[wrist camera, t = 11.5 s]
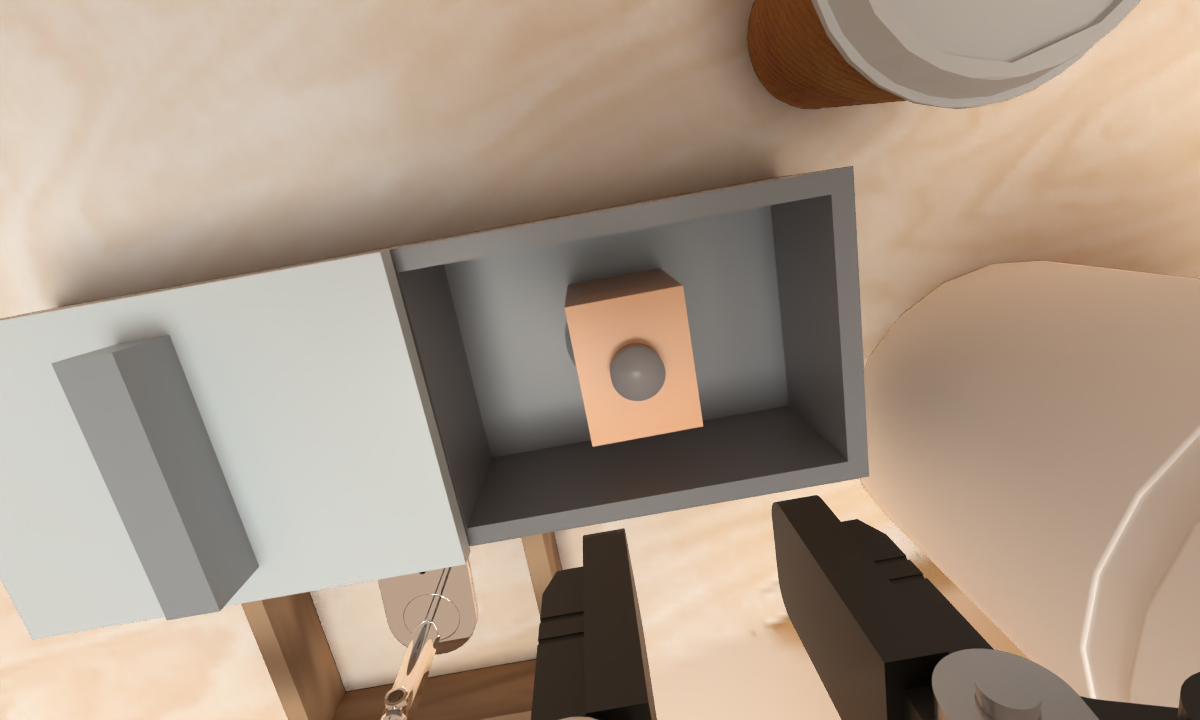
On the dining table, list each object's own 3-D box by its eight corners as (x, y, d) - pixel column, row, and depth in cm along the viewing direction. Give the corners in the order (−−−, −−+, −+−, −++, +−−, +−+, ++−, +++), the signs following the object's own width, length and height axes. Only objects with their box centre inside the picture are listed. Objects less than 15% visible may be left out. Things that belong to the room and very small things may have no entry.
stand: (461, 521, 31) (483, 643, 33) (370, 531, 31) (398, 652, 33) (424, 621, 23) (456, 770, 25) (304, 634, 23) (346, 782, 25)
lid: (-94, 337, 19) (-227, 363, 16) (389, 250, 19) (351, 258, 16) (53, 623, 22) (-33, 692, 19) (470, 550, 22) (452, 607, 19)
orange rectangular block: (567, 285, 26) (563, 311, 20) (660, 268, 26) (686, 288, 20) (589, 397, 28) (593, 455, 21) (677, 380, 28) (708, 434, 21)
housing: (58, 307, 27) (-135, 344, 20) (778, 177, 26) (853, 165, 19) (152, 524, 30) (16, 625, 23) (798, 410, 30) (869, 476, 22)
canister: (864, 570, 32) (1287, 1108, 13) (832, 300, 28) (1383, 504, 9) (1143, 510, 32) (2002, 970, 13) (1153, 226, 28) (2459, 271, 8)
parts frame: (261, 515, 30) (221, 554, 27) (539, 467, 30) (534, 499, 27) (333, 708, 33) (306, 764, 30) (583, 665, 33) (583, 717, 30)
